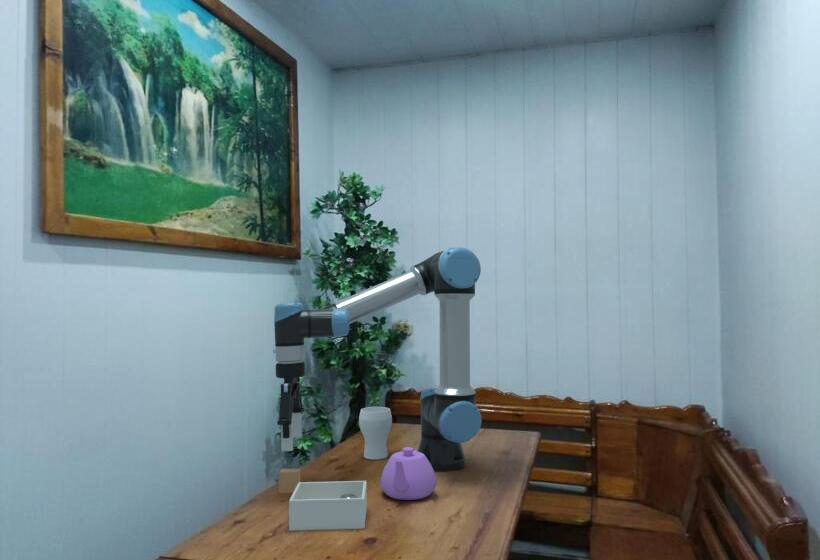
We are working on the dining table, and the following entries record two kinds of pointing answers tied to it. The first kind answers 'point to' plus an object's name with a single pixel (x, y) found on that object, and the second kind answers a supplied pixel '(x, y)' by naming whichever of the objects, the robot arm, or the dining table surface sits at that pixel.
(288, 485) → the lid
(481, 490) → the dining table surface
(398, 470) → the teapot
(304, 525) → the tub
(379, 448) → the cup
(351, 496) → the slug
